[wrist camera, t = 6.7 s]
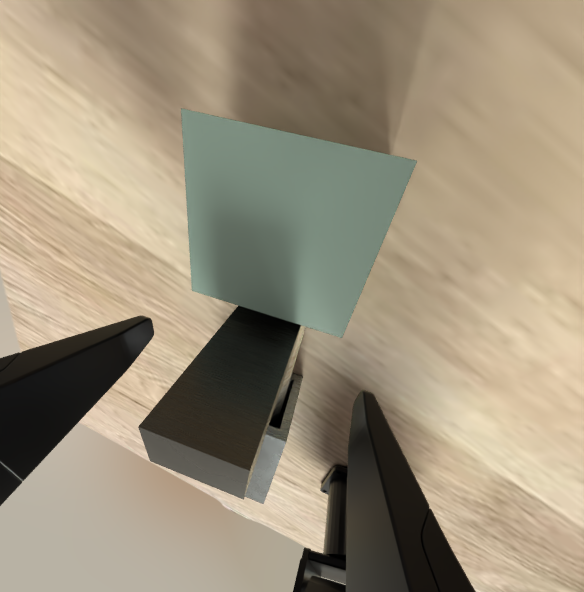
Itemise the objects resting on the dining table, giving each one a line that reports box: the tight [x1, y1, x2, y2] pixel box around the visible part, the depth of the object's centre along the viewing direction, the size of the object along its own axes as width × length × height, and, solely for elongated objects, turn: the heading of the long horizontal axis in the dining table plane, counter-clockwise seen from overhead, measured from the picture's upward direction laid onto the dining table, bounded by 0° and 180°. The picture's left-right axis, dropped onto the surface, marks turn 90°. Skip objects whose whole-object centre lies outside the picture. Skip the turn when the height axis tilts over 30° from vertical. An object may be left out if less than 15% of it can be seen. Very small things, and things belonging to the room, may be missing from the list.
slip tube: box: [139, 306, 305, 499], centre depth 12 cm, size 18×3×9 cm, turn 169°
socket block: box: [181, 108, 417, 338], centre depth 10 cm, size 6×6×6 cm
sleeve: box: [245, 373, 303, 504], centre depth 20 cm, size 12×5×5 cm, turn 169°
